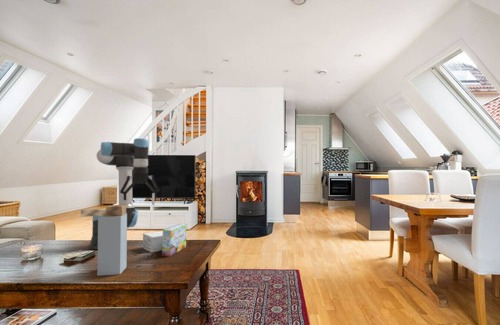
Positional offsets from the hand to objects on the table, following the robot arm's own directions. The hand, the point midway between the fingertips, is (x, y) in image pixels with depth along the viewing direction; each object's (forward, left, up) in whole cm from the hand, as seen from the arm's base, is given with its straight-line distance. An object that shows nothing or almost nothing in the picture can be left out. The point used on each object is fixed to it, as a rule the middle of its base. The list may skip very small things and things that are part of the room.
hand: (140, 205), depth 148 cm
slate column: (+8, -15, -30) cm, 34 cm away
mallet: (+5, -19, -3) cm, 20 cm away
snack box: (-4, +22, -30) cm, 37 cm away
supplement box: (-18, +18, -30) cm, 40 cm away
